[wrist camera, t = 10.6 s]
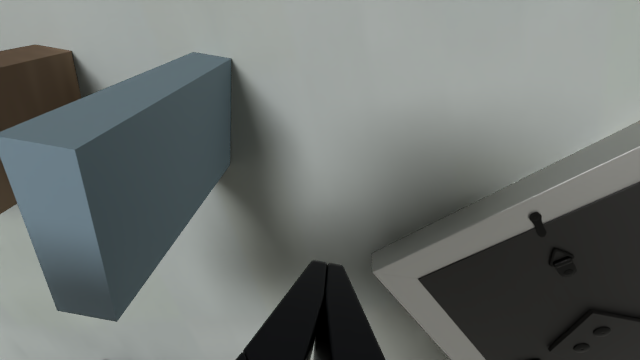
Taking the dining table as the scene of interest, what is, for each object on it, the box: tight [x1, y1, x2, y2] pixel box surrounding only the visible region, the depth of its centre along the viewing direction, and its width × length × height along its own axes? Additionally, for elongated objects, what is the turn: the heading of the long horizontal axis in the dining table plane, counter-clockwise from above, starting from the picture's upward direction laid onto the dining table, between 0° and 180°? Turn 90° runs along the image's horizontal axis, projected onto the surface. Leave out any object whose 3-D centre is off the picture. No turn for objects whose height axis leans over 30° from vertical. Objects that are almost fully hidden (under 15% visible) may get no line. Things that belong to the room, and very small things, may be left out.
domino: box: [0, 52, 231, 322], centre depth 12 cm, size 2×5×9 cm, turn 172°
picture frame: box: [372, 121, 640, 360], centre depth 18 cm, size 16×3×21 cm
